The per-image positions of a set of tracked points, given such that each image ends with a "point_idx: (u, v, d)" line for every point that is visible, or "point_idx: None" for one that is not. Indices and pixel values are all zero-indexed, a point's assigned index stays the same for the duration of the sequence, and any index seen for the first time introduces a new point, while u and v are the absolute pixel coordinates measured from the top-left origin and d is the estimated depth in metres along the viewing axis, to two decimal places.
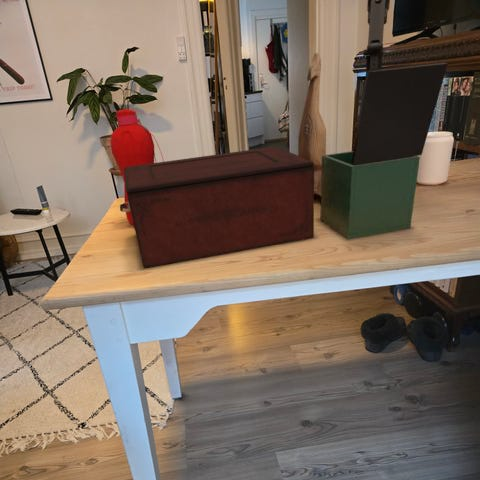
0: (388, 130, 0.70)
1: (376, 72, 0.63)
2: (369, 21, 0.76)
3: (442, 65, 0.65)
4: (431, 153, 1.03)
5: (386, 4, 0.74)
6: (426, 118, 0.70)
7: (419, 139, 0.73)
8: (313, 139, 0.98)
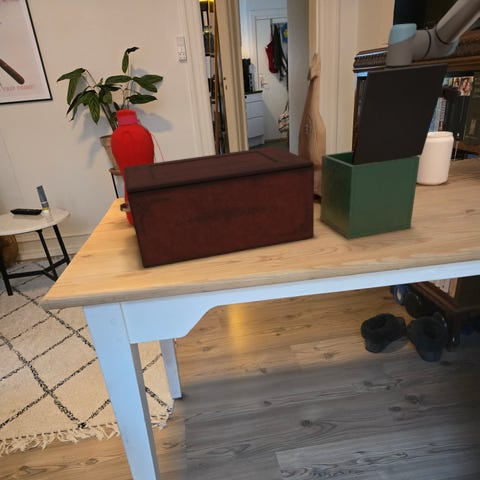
0: (388, 130, 0.70)
1: (377, 73, 0.63)
2: None
3: (443, 65, 0.64)
4: (431, 153, 1.03)
5: None
6: (426, 118, 0.70)
7: (419, 139, 0.73)
8: (313, 139, 0.98)
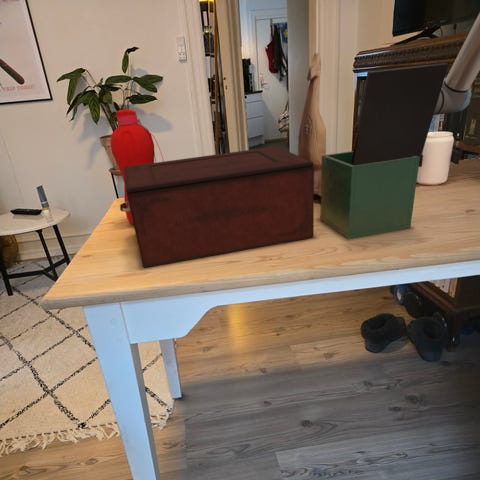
0: (388, 130, 0.70)
1: (377, 73, 0.63)
2: None
3: (443, 65, 0.64)
4: (431, 153, 1.03)
5: None
6: (426, 118, 0.70)
7: (419, 139, 0.73)
8: (313, 139, 0.98)
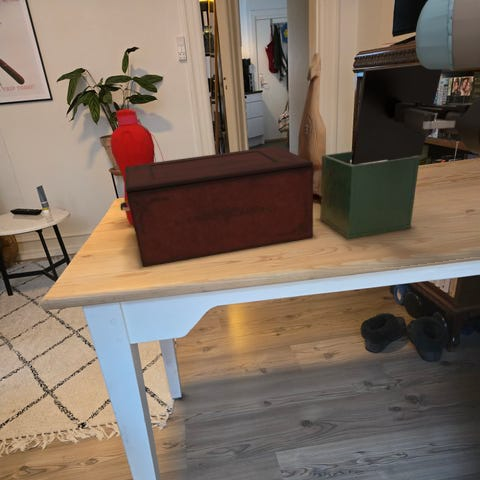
0: (387, 129, 0.70)
1: (373, 70, 0.64)
2: None
3: None
4: None
5: None
6: None
7: (418, 138, 0.73)
8: (313, 139, 0.98)
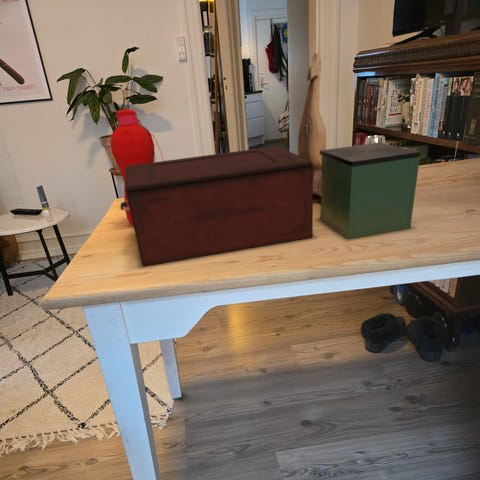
0: (366, 153, 0.78)
1: (325, 150, 0.85)
2: None
3: (375, 143, 0.87)
4: None
5: None
6: (395, 148, 0.80)
7: (404, 150, 0.77)
8: (313, 139, 0.98)
